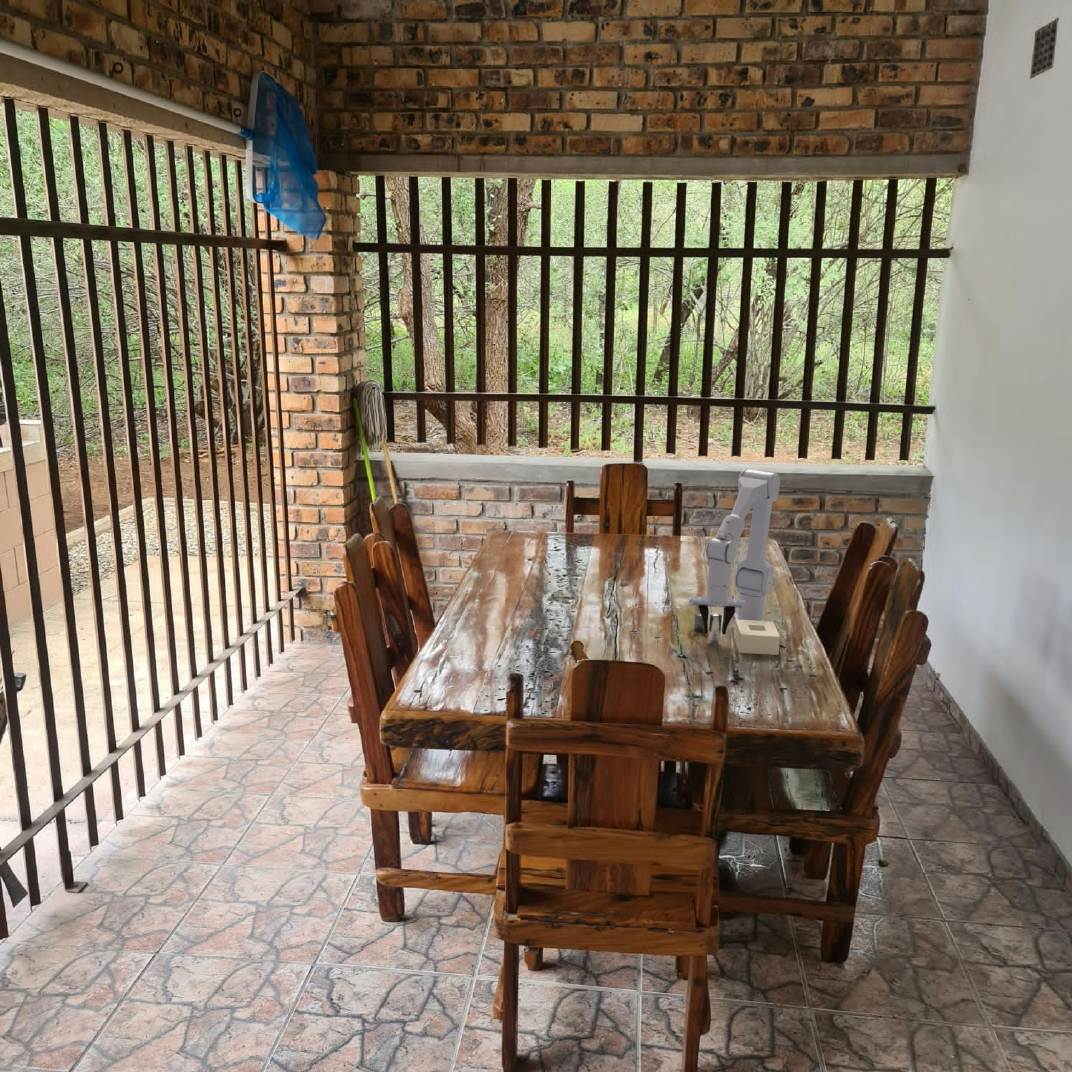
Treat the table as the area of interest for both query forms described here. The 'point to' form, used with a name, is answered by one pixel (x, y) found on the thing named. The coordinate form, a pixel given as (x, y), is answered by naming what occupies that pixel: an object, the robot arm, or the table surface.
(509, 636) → the table surface
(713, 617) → the long pin
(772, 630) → the hole block
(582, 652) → the primitive tool
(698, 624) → the short pin
